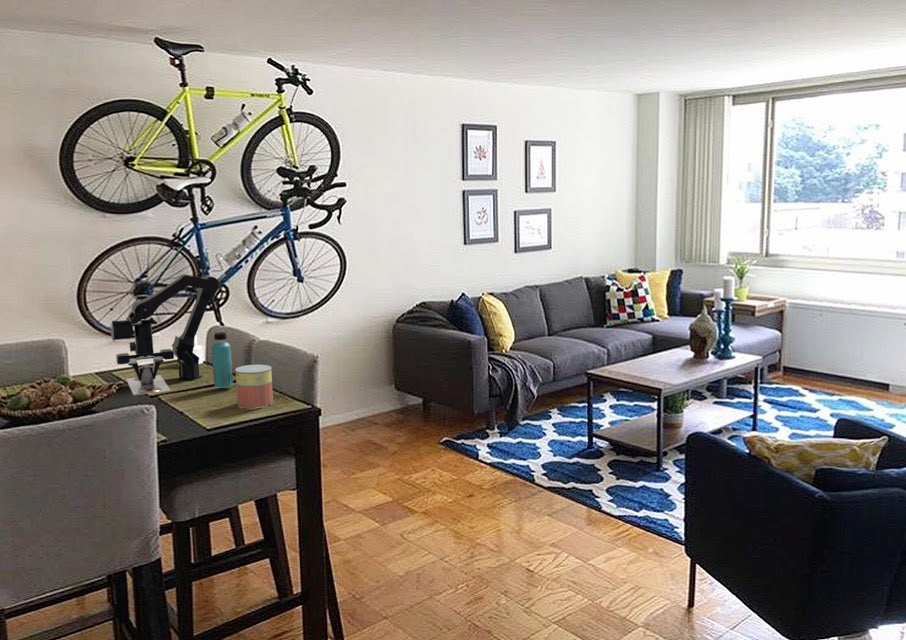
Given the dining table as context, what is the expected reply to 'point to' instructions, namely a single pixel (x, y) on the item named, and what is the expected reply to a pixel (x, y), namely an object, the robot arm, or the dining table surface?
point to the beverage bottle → (222, 361)
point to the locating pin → (146, 375)
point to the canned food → (254, 385)
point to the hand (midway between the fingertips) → (147, 379)
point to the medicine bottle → (196, 351)
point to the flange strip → (147, 386)
